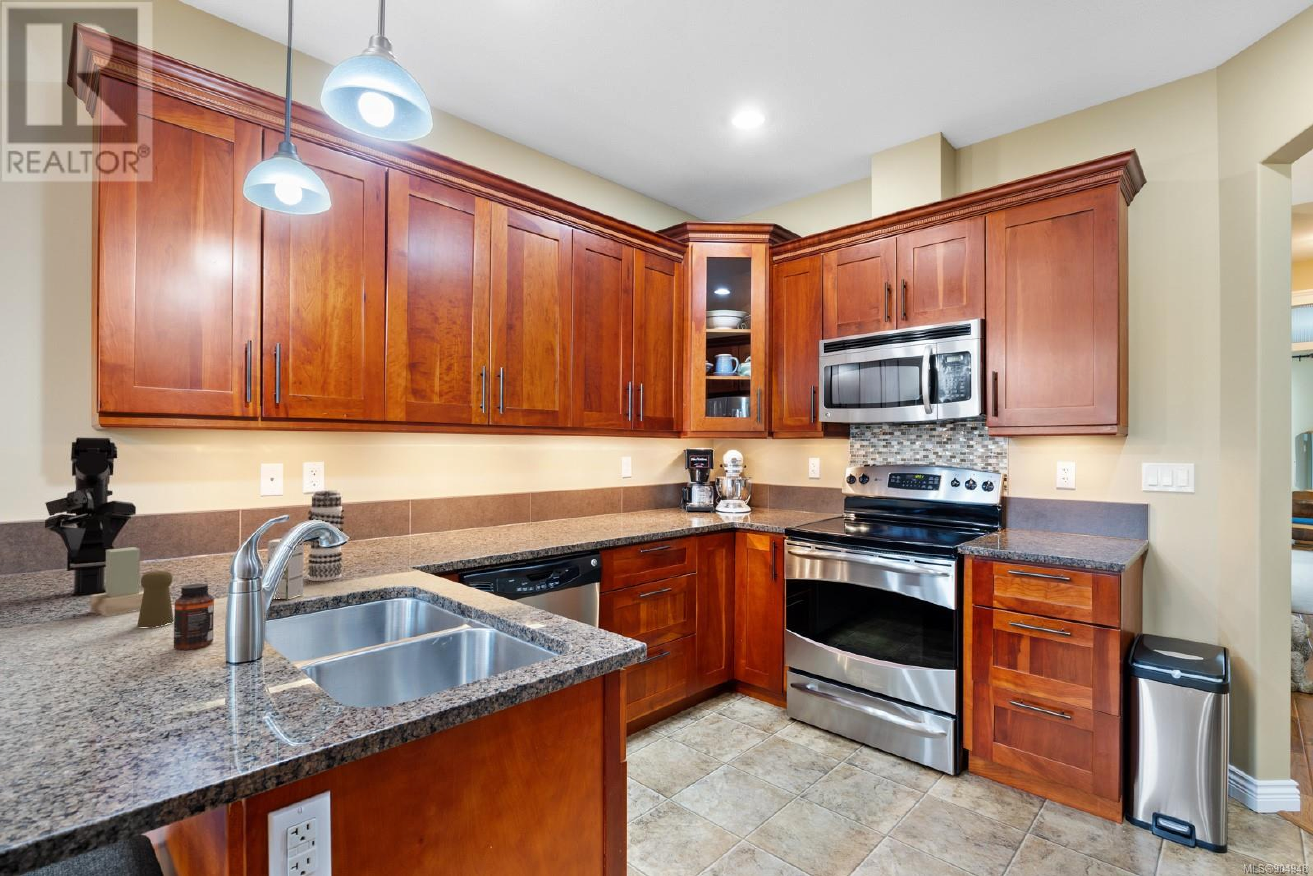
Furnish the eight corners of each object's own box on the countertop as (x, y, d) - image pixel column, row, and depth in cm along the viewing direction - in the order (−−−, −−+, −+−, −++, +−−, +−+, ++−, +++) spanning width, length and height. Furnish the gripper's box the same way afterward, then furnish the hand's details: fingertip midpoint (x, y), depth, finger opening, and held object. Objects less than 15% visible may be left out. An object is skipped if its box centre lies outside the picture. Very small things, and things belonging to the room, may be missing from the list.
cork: (180, 622, 130) (181, 570, 130) (146, 630, 125) (148, 575, 125) (164, 619, 133) (165, 568, 133) (130, 626, 127) (132, 572, 127)
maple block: (90, 613, 138) (90, 595, 138) (133, 605, 145) (133, 588, 145) (107, 617, 134) (107, 599, 134) (150, 609, 141) (151, 592, 142)
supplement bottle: (220, 643, 116) (222, 583, 117) (187, 653, 111) (189, 590, 111) (198, 639, 118) (200, 581, 119) (165, 649, 113) (167, 587, 113)
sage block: (105, 593, 140) (105, 549, 140) (133, 589, 144) (134, 547, 144) (110, 597, 136) (111, 552, 137) (139, 592, 140) (139, 549, 141)
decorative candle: (308, 576, 179) (309, 490, 180) (343, 573, 183) (345, 489, 183) (305, 582, 171) (306, 492, 171) (342, 579, 175) (344, 491, 175)
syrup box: (303, 595, 155) (305, 537, 156) (287, 600, 150) (288, 541, 150) (282, 594, 156) (284, 537, 156) (265, 600, 150) (267, 540, 150)
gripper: (20, 491, 141) (15, 559, 137) (90, 473, 139) (87, 541, 135) (72, 497, 152) (70, 560, 148) (138, 480, 150) (137, 544, 146)
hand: (89, 551), depth 144 cm, fingers open, 9 cm apart
